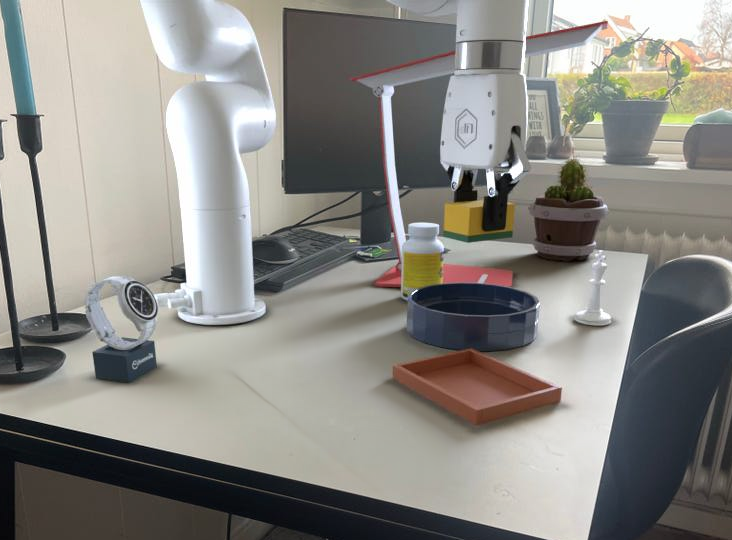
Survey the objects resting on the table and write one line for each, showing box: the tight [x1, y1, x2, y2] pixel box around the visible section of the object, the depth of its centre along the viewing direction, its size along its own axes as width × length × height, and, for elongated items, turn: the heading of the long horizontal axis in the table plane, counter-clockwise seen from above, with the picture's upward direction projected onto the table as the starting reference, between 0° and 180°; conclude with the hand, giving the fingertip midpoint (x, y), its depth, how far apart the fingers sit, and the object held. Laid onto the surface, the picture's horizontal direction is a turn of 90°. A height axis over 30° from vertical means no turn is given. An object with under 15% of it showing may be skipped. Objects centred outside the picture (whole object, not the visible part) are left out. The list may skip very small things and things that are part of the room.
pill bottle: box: [400, 222, 445, 302], centre depth 109 cm, size 6×6×12 cm
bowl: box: [406, 282, 541, 352], centre depth 94 cm, size 17×17×5 cm
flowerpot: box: [527, 153, 610, 262], centre depth 139 cm, size 14×15×20 cm
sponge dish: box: [391, 348, 563, 426], centre depth 75 cm, size 11×14×2 cm
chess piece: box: [574, 250, 612, 327], centre depth 99 cm, size 5×5×10 cm
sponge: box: [443, 199, 516, 244], centre depth 84 cm, size 7×4×4 cm, turn 122°
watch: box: [84, 275, 159, 384], centre depth 79 cm, size 6×8×11 cm
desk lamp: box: [349, 20, 609, 288], centre depth 116 cm, size 18×38×40 cm, turn 72°
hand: (478, 225), depth 84 cm, fingers closed on sponge, 4 cm apart
